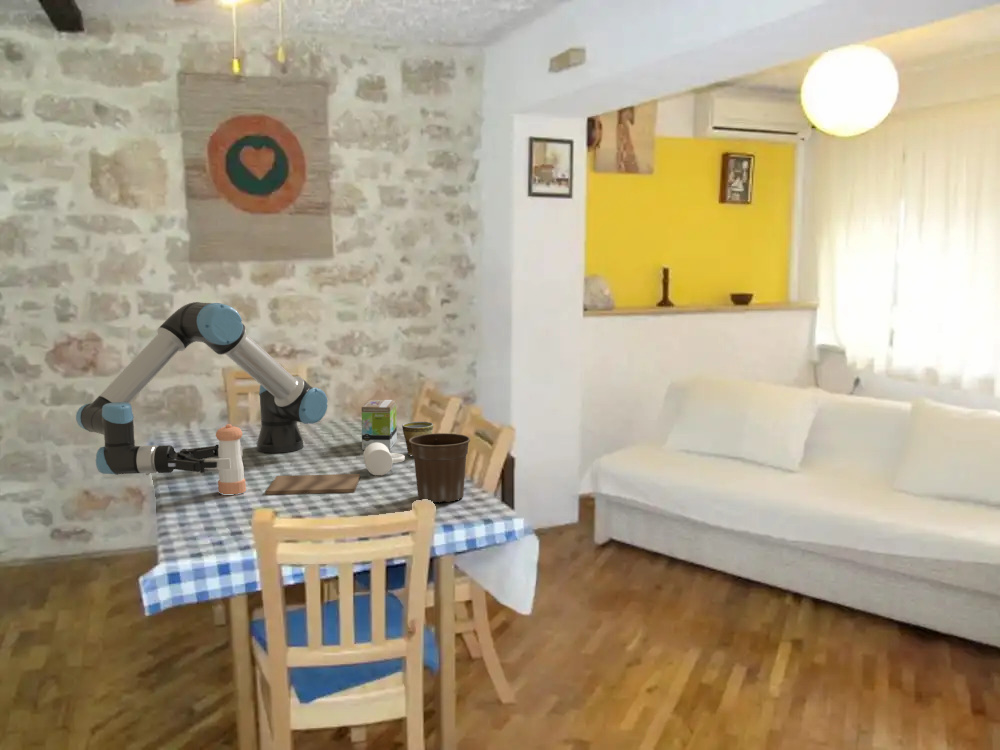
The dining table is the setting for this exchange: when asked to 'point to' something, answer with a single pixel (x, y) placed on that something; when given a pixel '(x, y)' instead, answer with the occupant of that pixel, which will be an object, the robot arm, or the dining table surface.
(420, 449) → the plant pot
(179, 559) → the dining table surface
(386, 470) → the mug
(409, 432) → the ceramic cup
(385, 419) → the tea box
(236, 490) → the pepper shaker
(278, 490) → the walnut board
